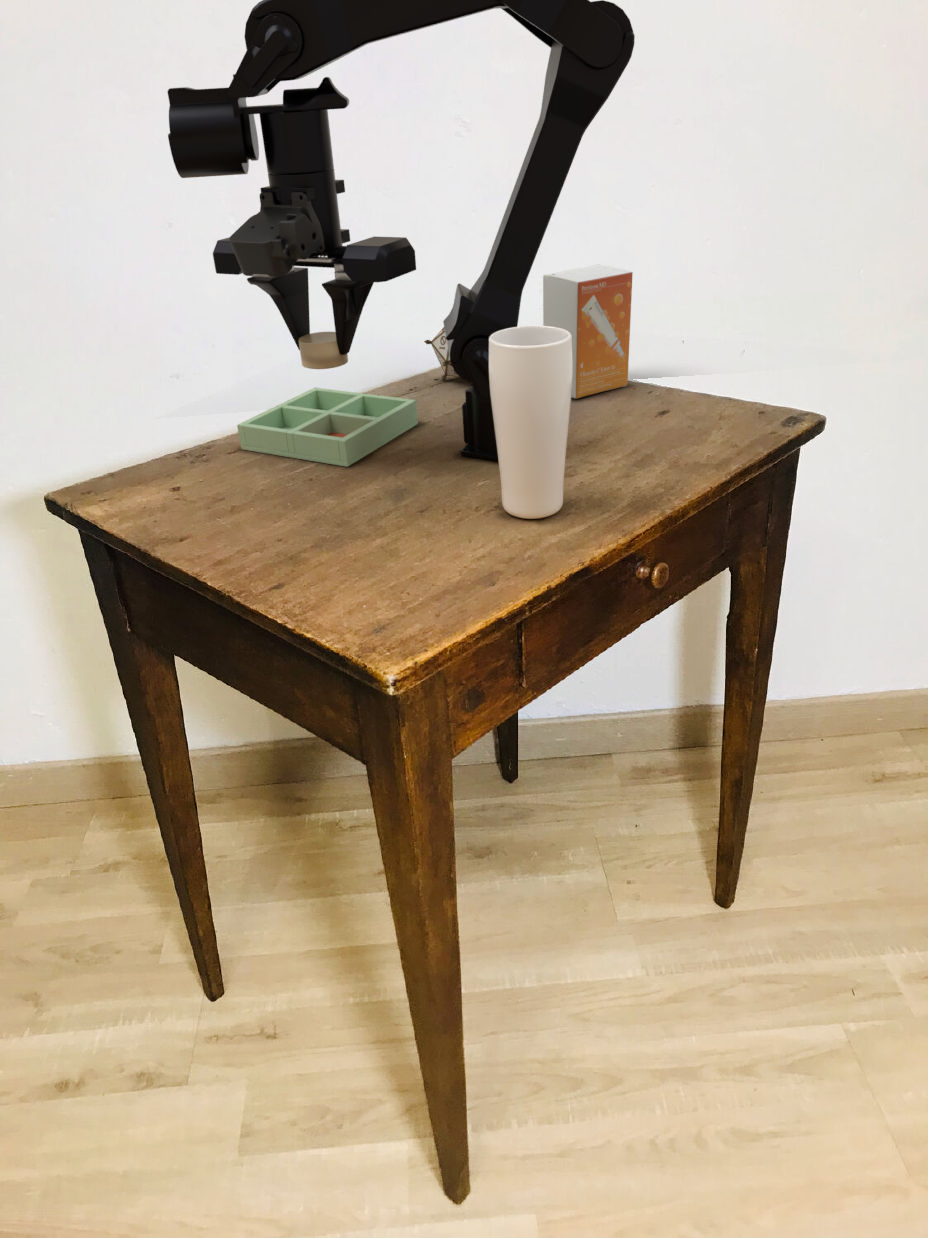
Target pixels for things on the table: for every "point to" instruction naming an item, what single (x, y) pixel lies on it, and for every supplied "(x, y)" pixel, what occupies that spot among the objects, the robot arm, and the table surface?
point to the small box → (592, 323)
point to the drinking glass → (531, 415)
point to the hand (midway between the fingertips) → (323, 351)
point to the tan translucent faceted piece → (442, 353)
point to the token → (321, 351)
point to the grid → (328, 426)
